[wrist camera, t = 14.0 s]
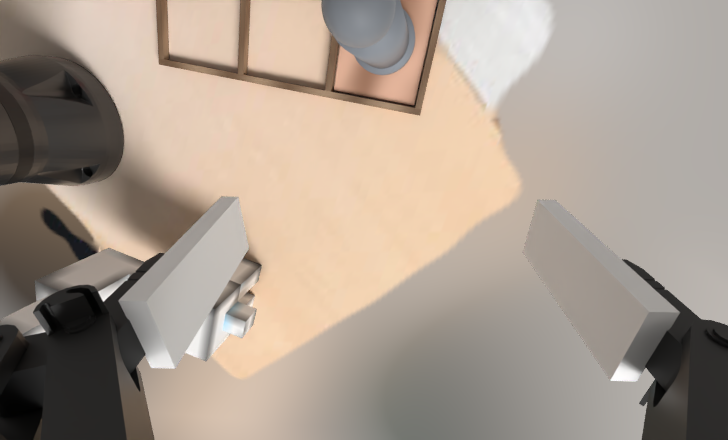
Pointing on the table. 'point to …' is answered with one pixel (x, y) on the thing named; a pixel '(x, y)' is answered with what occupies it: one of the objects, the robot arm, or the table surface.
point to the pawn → (372, 32)
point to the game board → (340, 62)
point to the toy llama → (116, 268)
